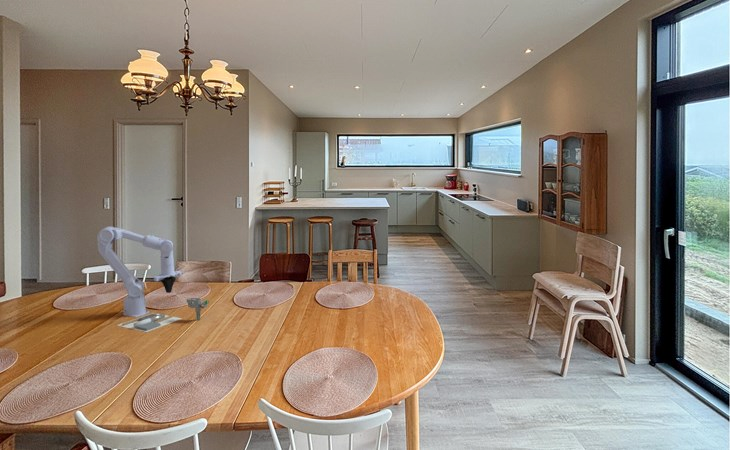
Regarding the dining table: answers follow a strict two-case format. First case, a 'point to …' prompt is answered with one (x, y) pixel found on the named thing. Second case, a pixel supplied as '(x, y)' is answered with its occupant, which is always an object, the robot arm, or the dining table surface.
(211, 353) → the dining table surface
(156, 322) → the hinge jig
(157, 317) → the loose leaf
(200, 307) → the mechanical component
